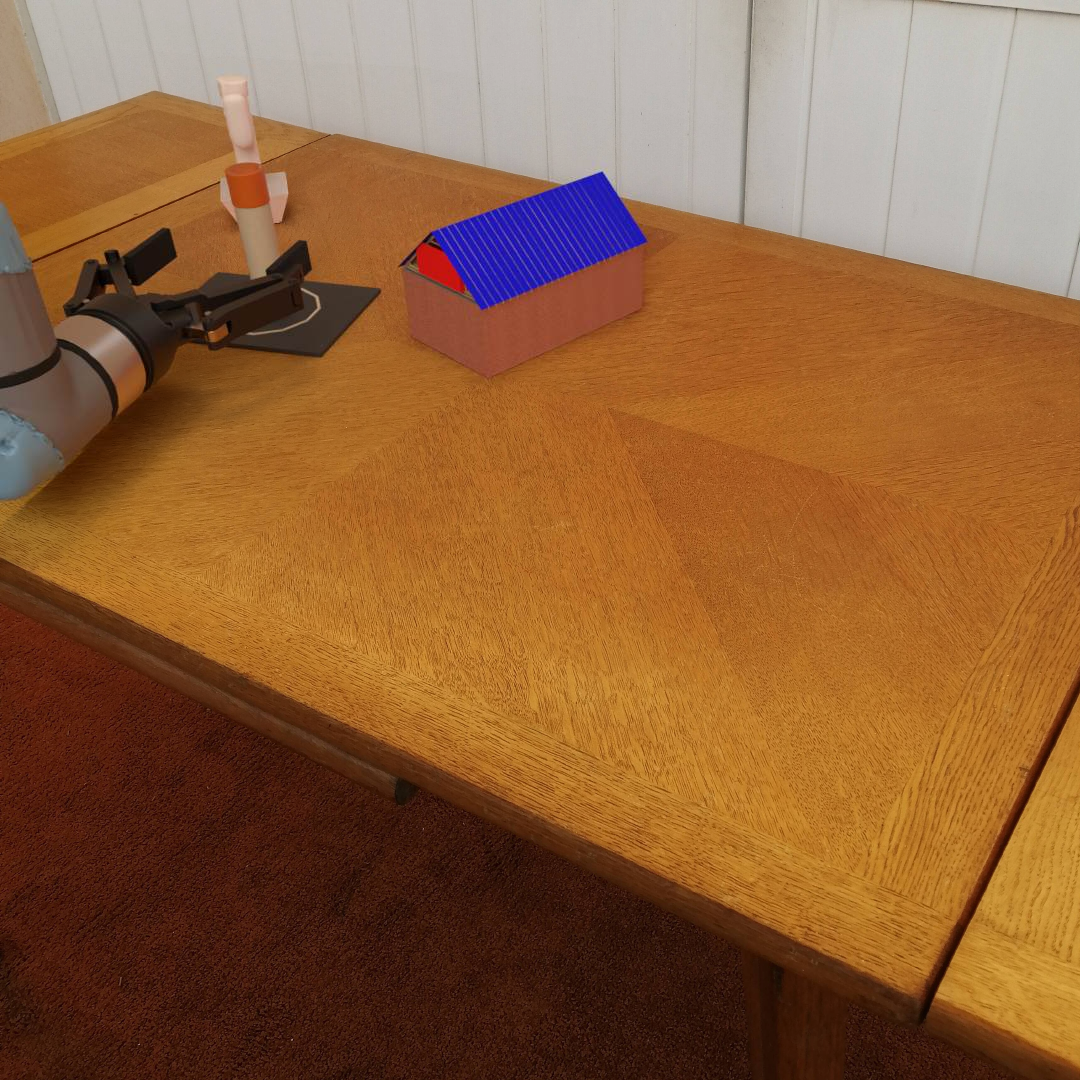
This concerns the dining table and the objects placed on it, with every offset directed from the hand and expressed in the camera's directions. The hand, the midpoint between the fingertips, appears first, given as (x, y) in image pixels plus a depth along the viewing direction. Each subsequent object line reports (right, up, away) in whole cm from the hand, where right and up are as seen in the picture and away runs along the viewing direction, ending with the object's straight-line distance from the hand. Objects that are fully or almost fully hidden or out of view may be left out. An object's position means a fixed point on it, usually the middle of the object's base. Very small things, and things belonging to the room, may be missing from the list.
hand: (237, 248), depth 102 cm
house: (+26, -6, +4) cm, 27 cm away
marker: (+1, -3, +7) cm, 8 cm away
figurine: (-5, +11, +25) cm, 28 cm away
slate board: (+1, -4, +6) cm, 8 cm away
